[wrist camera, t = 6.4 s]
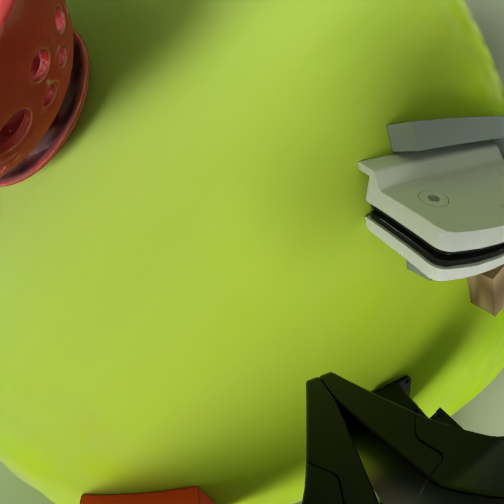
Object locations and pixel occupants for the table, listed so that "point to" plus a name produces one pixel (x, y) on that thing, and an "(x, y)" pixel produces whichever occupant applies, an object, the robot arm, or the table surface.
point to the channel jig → (445, 137)
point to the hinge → (440, 207)
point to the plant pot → (38, 84)
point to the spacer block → (488, 290)
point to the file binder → (152, 497)
